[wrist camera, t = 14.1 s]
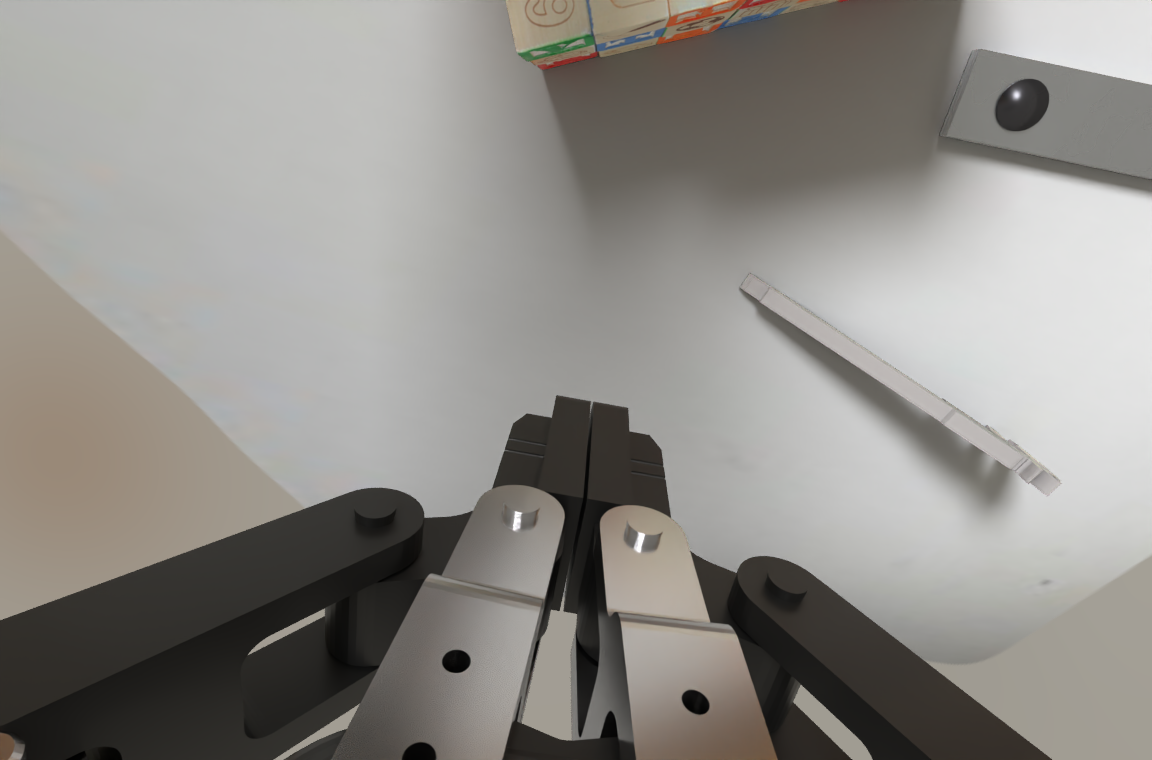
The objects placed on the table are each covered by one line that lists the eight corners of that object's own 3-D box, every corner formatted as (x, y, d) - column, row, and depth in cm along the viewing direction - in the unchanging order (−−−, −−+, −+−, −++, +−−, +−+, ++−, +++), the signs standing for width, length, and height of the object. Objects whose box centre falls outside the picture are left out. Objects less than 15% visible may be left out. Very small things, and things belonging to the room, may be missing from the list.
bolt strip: (971, 50, 31) (982, 48, 30) (1319, 124, 31) (1339, 123, 30) (939, 135, 32) (947, 135, 32) (1270, 204, 33) (1288, 206, 32)
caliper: (1013, 440, 39) (1082, 494, 33) (1000, 453, 39) (1066, 508, 33) (749, 271, 36) (773, 298, 30) (737, 287, 36) (760, 316, 31)
